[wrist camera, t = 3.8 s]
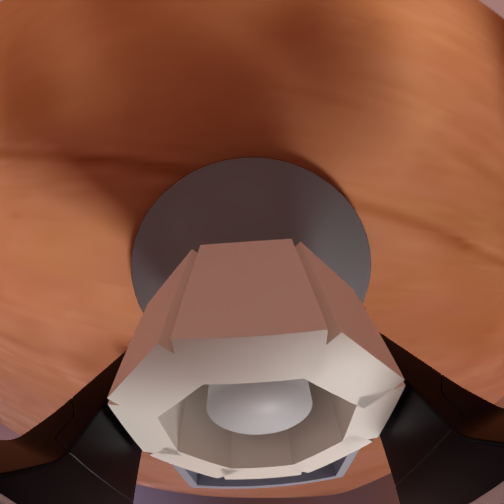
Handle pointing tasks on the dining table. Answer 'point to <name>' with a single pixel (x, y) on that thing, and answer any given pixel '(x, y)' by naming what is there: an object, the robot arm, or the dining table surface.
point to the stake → (243, 230)
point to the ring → (254, 361)
